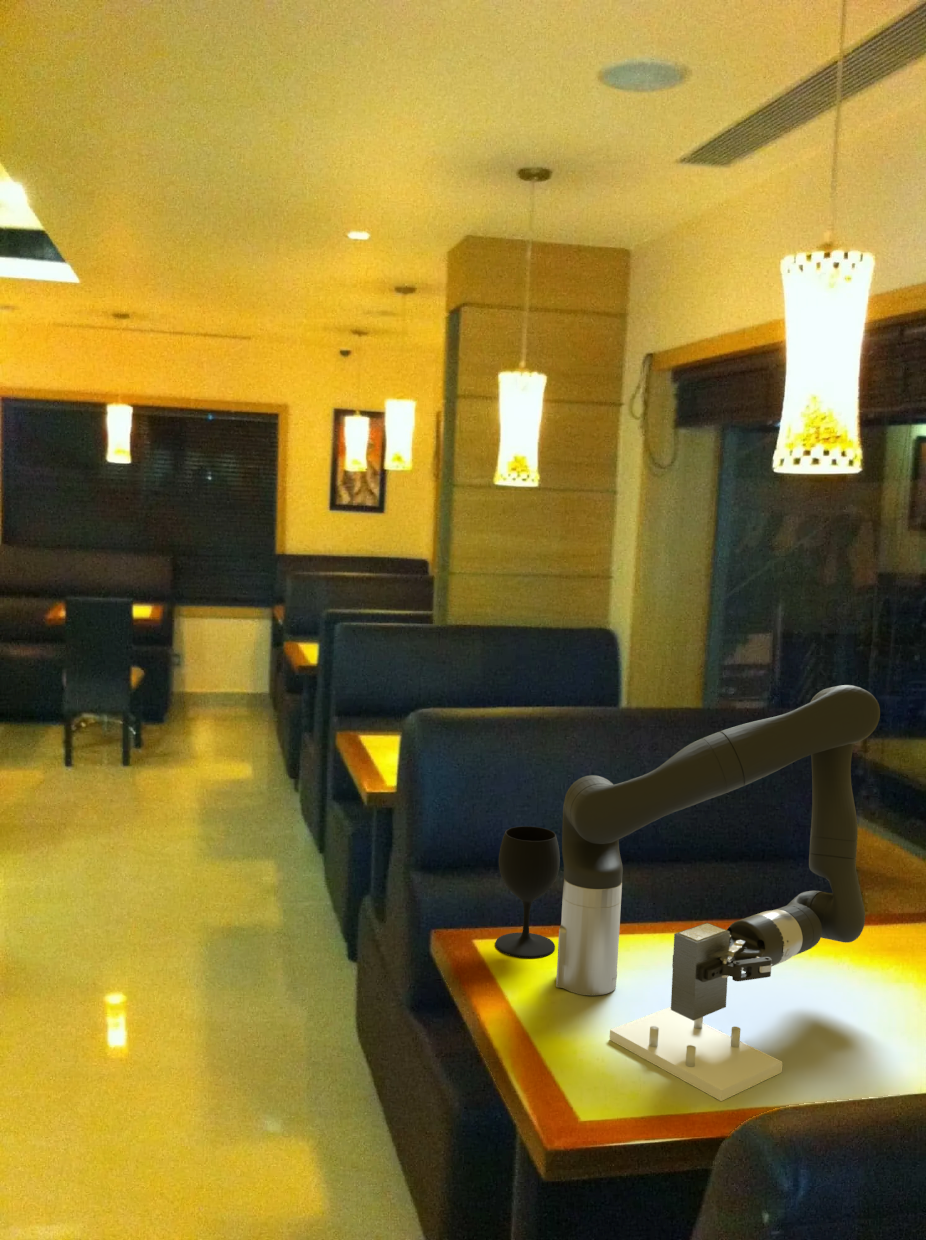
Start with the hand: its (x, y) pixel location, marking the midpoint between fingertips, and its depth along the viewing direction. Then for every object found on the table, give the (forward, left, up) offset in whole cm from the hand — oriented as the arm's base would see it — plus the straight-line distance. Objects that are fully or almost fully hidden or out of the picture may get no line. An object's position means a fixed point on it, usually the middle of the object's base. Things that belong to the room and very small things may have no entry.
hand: (687, 968), depth 154 cm
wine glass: (-27, +33, -14) cm, 45 cm away
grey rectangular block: (+2, +2, -6) cm, 7 cm away
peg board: (+2, +2, -13) cm, 14 cm away
